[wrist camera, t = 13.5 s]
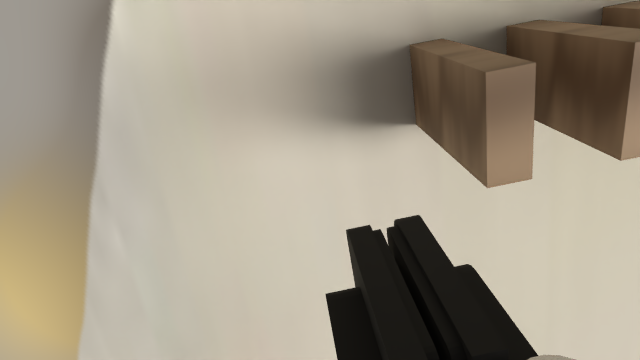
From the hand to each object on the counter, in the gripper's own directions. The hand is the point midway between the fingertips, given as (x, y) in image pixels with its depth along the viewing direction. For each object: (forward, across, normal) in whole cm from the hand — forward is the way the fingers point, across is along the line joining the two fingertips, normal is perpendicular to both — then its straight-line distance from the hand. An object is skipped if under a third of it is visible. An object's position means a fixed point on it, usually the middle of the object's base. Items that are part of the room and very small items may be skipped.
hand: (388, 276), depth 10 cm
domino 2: (+18, -13, 0) cm, 22 cm away
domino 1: (+18, -7, 0) cm, 19 cm away
